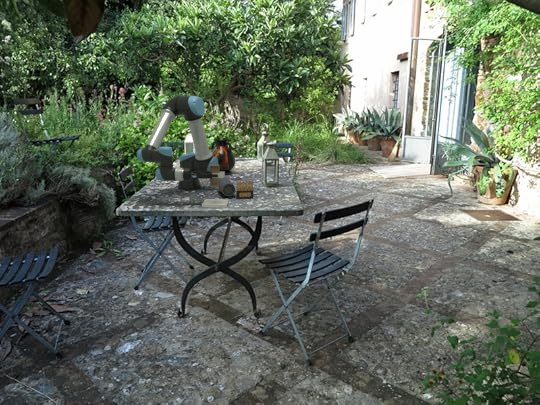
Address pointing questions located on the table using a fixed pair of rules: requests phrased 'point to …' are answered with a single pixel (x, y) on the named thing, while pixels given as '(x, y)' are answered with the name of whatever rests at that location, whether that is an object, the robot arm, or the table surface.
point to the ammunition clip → (244, 190)
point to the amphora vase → (223, 155)
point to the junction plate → (215, 203)
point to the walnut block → (214, 181)
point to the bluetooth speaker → (226, 187)
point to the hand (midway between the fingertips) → (224, 174)
